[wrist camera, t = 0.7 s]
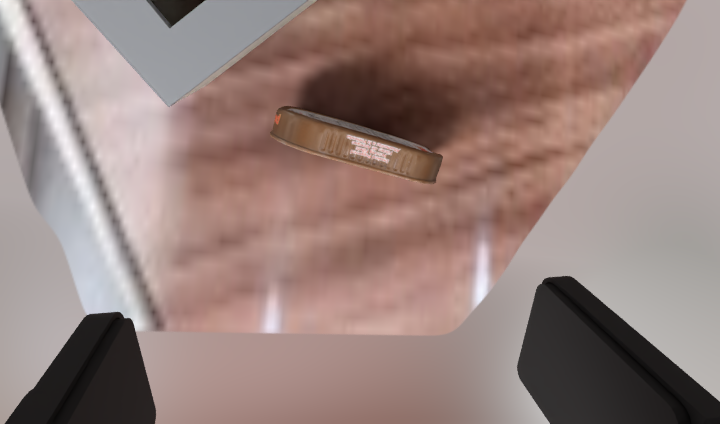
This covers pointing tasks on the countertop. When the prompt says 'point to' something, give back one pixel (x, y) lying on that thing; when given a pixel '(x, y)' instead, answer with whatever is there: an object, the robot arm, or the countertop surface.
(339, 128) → the tin
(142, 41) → the post box
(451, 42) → the countertop surface
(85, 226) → the countertop surface
